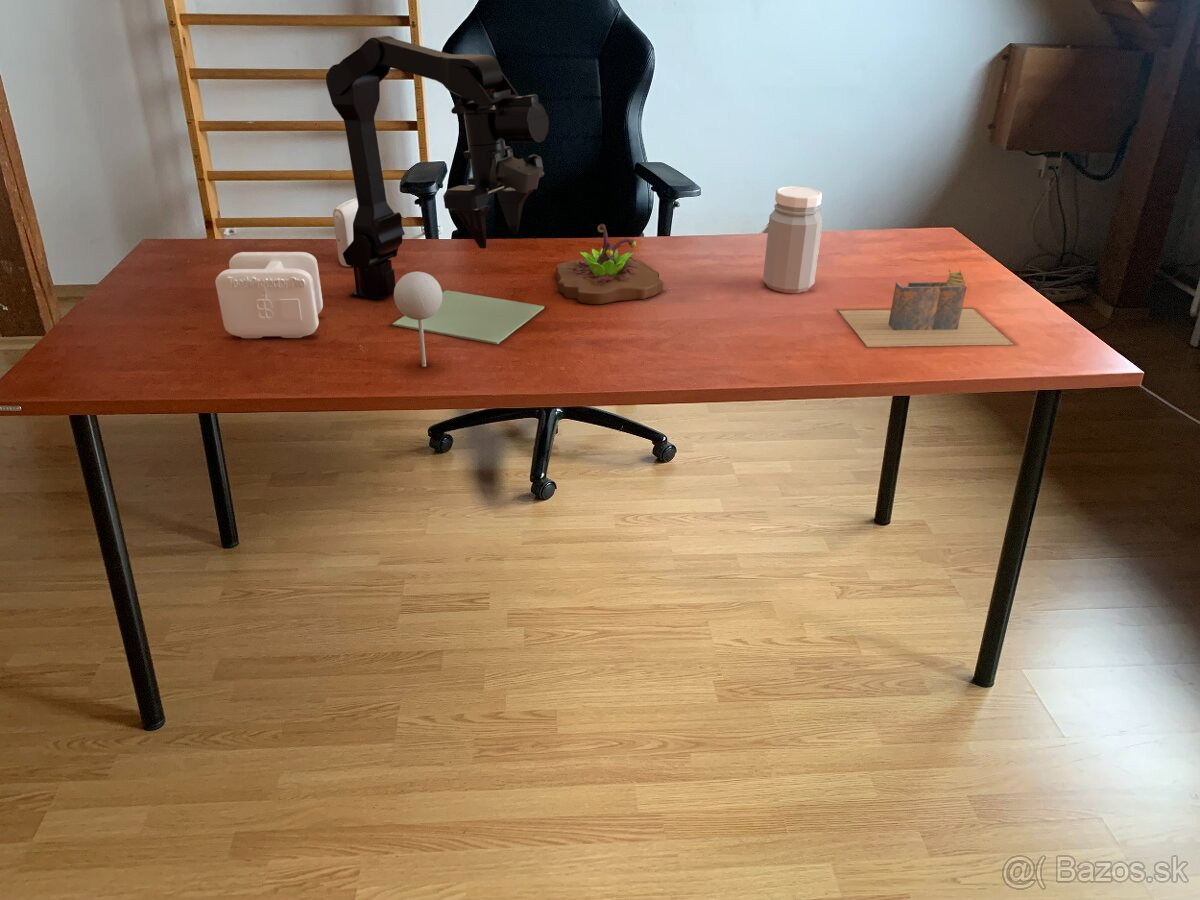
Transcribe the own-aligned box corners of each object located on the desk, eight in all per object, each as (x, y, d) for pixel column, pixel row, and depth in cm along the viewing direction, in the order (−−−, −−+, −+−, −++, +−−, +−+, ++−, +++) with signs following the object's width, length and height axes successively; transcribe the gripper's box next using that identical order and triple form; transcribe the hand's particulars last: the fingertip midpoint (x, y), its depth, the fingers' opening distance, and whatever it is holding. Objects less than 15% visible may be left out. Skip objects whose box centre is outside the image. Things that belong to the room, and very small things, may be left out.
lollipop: (456, 361, 147) (450, 269, 140) (430, 378, 141) (422, 283, 134) (418, 353, 150) (410, 262, 142) (391, 369, 144) (381, 276, 137)
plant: (637, 264, 190) (639, 209, 184) (674, 296, 174) (677, 237, 168) (541, 273, 184) (540, 216, 179) (570, 307, 168) (570, 246, 162)
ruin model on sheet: (972, 308, 171) (984, 256, 166) (1013, 344, 157) (1027, 288, 152) (838, 310, 169) (846, 258, 164) (867, 346, 155) (876, 290, 150)
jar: (810, 297, 175) (822, 200, 166) (757, 290, 177) (767, 195, 168) (816, 280, 183) (829, 187, 174) (766, 274, 185) (776, 182, 176)
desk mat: (392, 325, 160) (392, 323, 159) (446, 292, 174) (446, 289, 174) (497, 344, 153) (497, 342, 153) (544, 308, 168) (544, 306, 168)
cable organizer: (330, 316, 163) (321, 251, 157) (317, 340, 153) (308, 272, 148) (241, 317, 162) (229, 251, 156) (224, 341, 153) (210, 272, 147)
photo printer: (349, 268, 185) (341, 206, 178) (335, 264, 187) (327, 202, 181) (390, 256, 192) (384, 195, 186) (376, 252, 194) (370, 192, 188)
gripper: (494, 153, 137) (508, 259, 144) (560, 132, 151) (569, 229, 158) (434, 153, 142) (450, 255, 149) (503, 132, 156) (514, 226, 163)
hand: (499, 240), depth 154 cm, fingers open, 9 cm apart
